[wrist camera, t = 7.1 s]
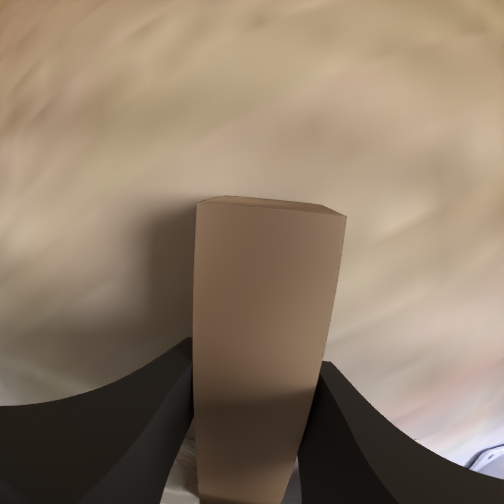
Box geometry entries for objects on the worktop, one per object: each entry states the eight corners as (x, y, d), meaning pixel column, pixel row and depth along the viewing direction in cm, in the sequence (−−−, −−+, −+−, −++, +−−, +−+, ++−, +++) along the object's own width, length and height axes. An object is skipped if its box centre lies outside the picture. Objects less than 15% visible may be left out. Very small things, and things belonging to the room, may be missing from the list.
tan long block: (320, 204, 9) (346, 216, 6) (266, 499, 13) (263, 549, 9) (225, 195, 10) (197, 202, 6) (214, 494, 13) (203, 542, 10)
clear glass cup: (220, 442, 12) (214, 473, 10) (209, 490, 14) (203, 515, 12) (122, 415, 12) (106, 440, 10) (128, 466, 14) (117, 489, 12)
